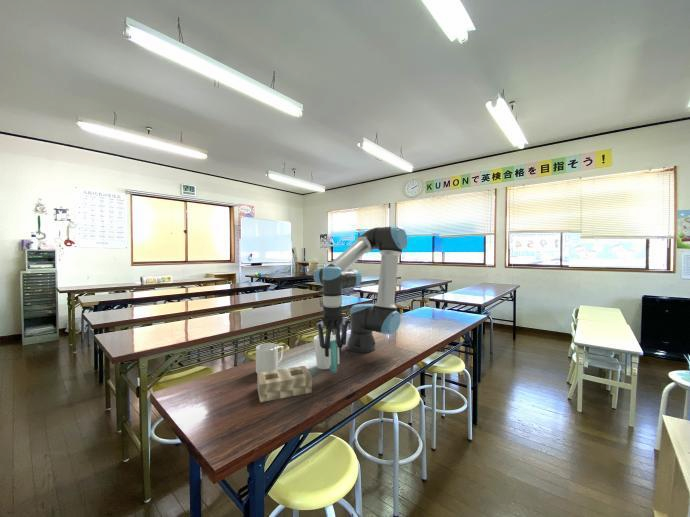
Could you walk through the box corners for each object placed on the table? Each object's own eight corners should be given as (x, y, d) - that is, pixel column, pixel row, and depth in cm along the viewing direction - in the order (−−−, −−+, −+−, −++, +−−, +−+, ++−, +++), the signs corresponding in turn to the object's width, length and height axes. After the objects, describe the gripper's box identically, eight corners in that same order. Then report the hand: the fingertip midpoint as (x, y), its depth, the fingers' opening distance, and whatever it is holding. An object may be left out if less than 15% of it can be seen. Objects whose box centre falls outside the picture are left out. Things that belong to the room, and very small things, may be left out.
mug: (261, 379, 112) (261, 351, 112) (252, 372, 119) (252, 346, 118) (288, 371, 120) (288, 345, 120) (278, 364, 127) (278, 340, 126)
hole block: (304, 380, 111) (304, 365, 111) (311, 392, 102) (311, 376, 102) (257, 388, 104) (257, 372, 104) (260, 402, 95) (260, 384, 95)
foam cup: (309, 366, 125) (309, 337, 125) (324, 360, 132) (324, 333, 132) (323, 372, 119) (324, 342, 118) (339, 366, 125) (339, 337, 125)
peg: (335, 368, 115) (335, 339, 115) (338, 371, 112) (337, 342, 112) (328, 370, 114) (328, 340, 114) (331, 373, 111) (330, 343, 111)
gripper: (347, 302, 119) (347, 356, 120) (310, 305, 113) (311, 363, 114) (354, 305, 112) (355, 363, 113) (315, 309, 106) (316, 370, 107)
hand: (333, 363), depth 113 cm, fingers closed on peg, 3 cm apart
